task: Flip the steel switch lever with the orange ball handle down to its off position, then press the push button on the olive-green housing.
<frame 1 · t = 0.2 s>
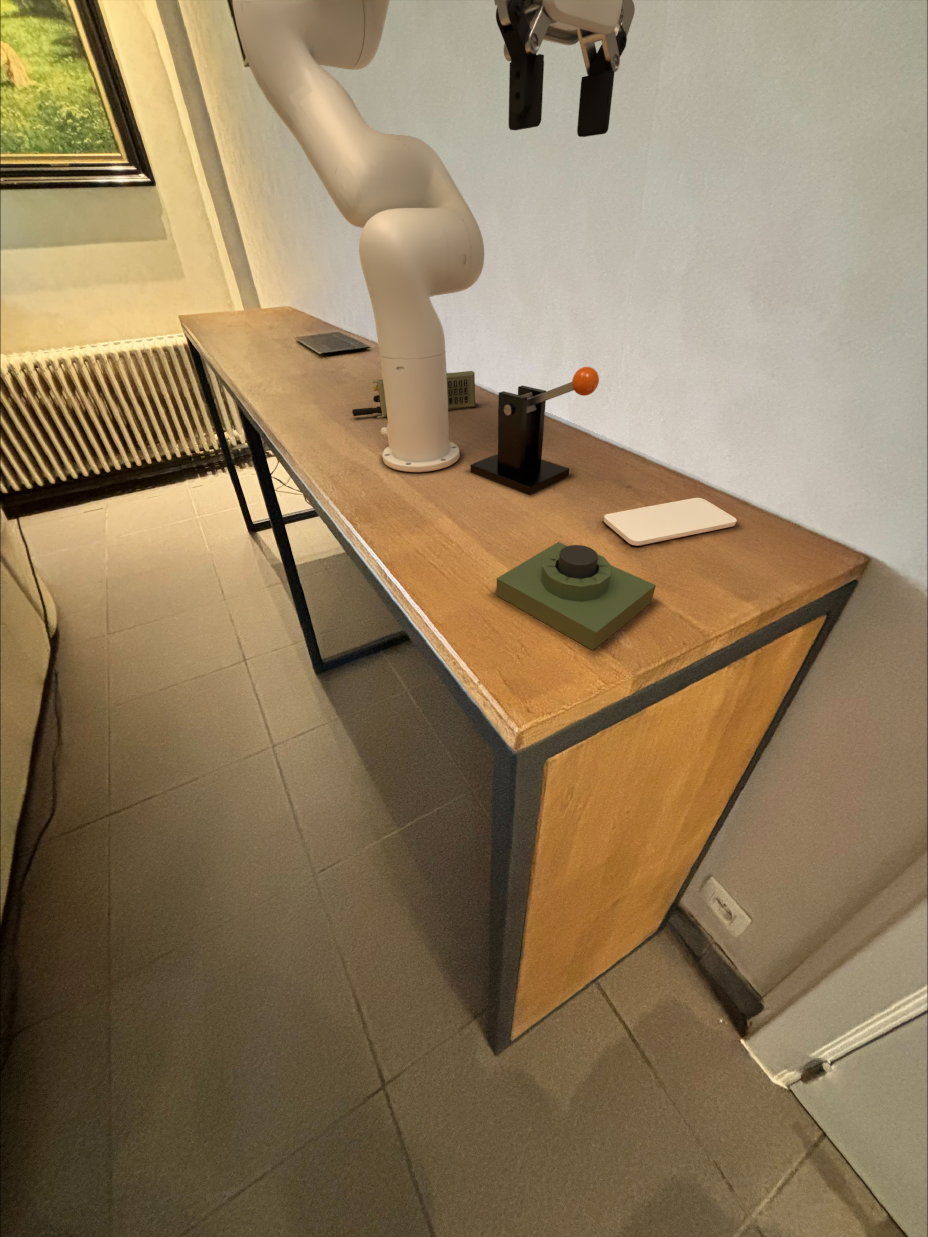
hand: (560, 131, 45), 36 cm above the table, tool pointing down, fingers open, 9 cm apart
switch bracket: (518, 474, 76), on the table
smartphone: (668, 524, 62), on the table
button box: (572, 599, 51), on the table
push button: (577, 562, 48), point 4 cm above the table, slide at 0.1 cm
switch lever: (552, 393, 65), point 12 cm above the table, hinge at 25.0°
handheld radio: (415, 413, 101), on the table
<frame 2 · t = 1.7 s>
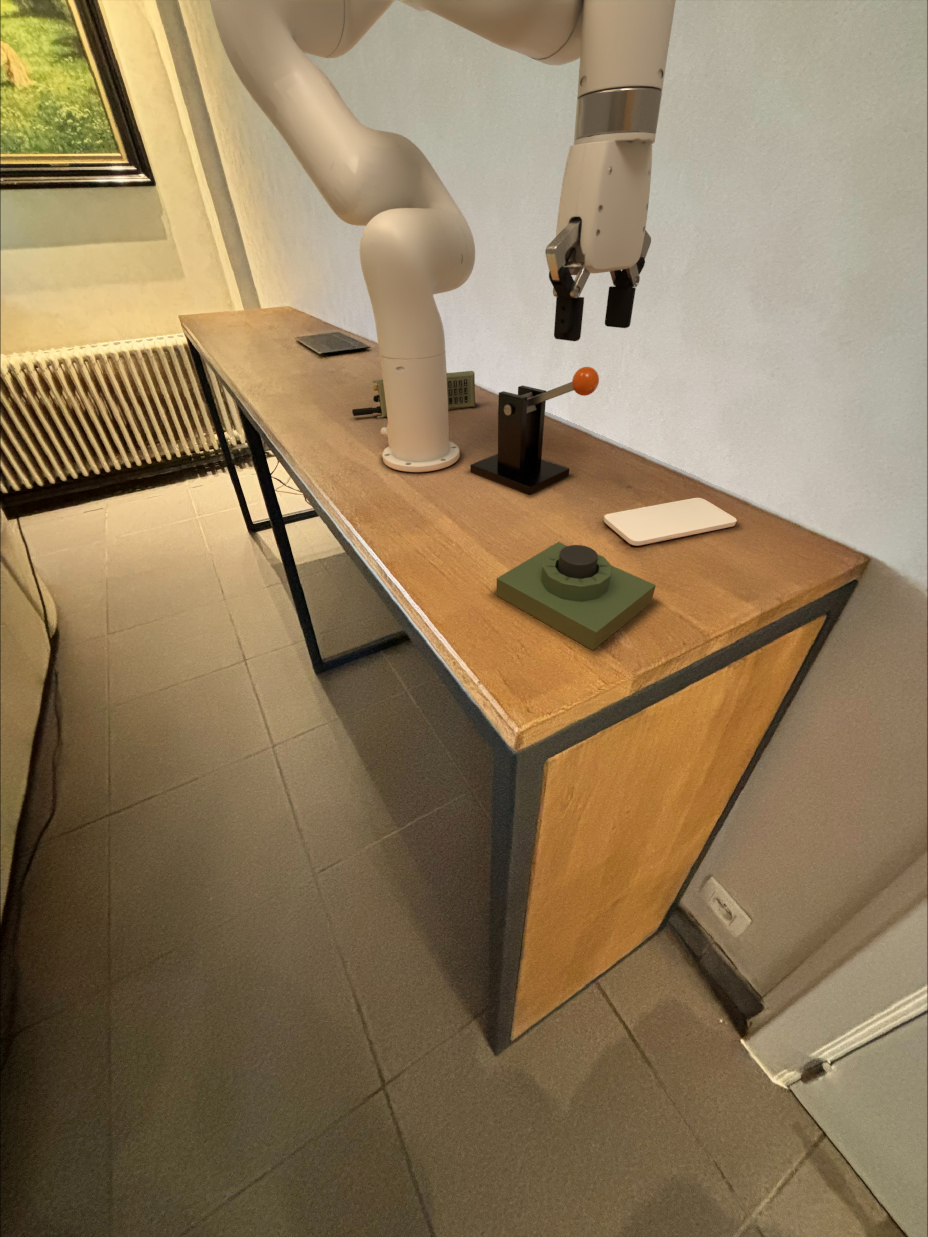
hand: (592, 332, 57), 20 cm above the table, tool pointing down, fingers open, 9 cm apart
nothing on the table moved.
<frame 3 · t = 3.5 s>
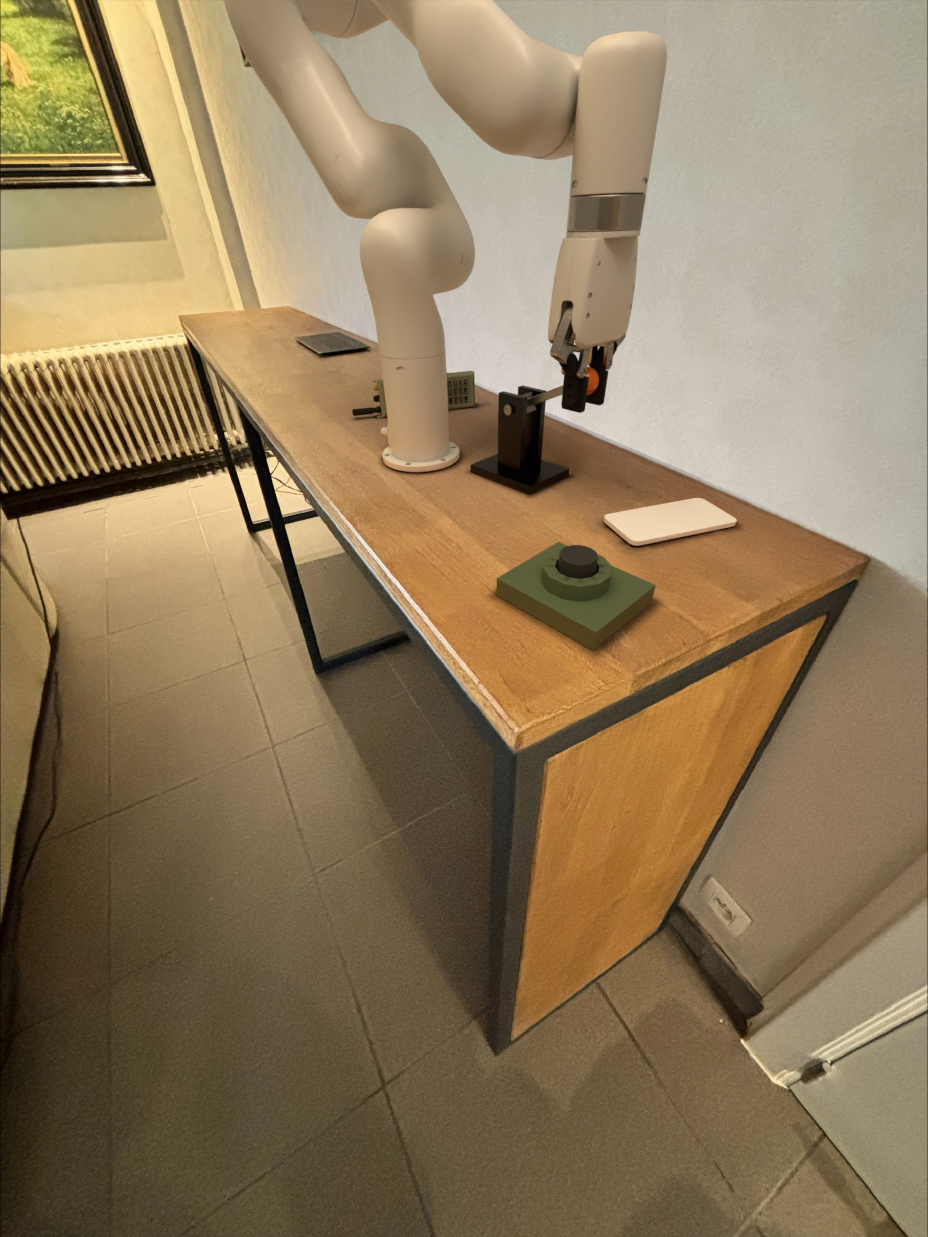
hand: (582, 405, 62), 12 cm above the table, tool pointing down, fingers closed on switch lever, 3 cm apart
switch lever: (552, 393, 65), point 12 cm above the table, hinge at 25.0°, touching gripper
everything else where it was.
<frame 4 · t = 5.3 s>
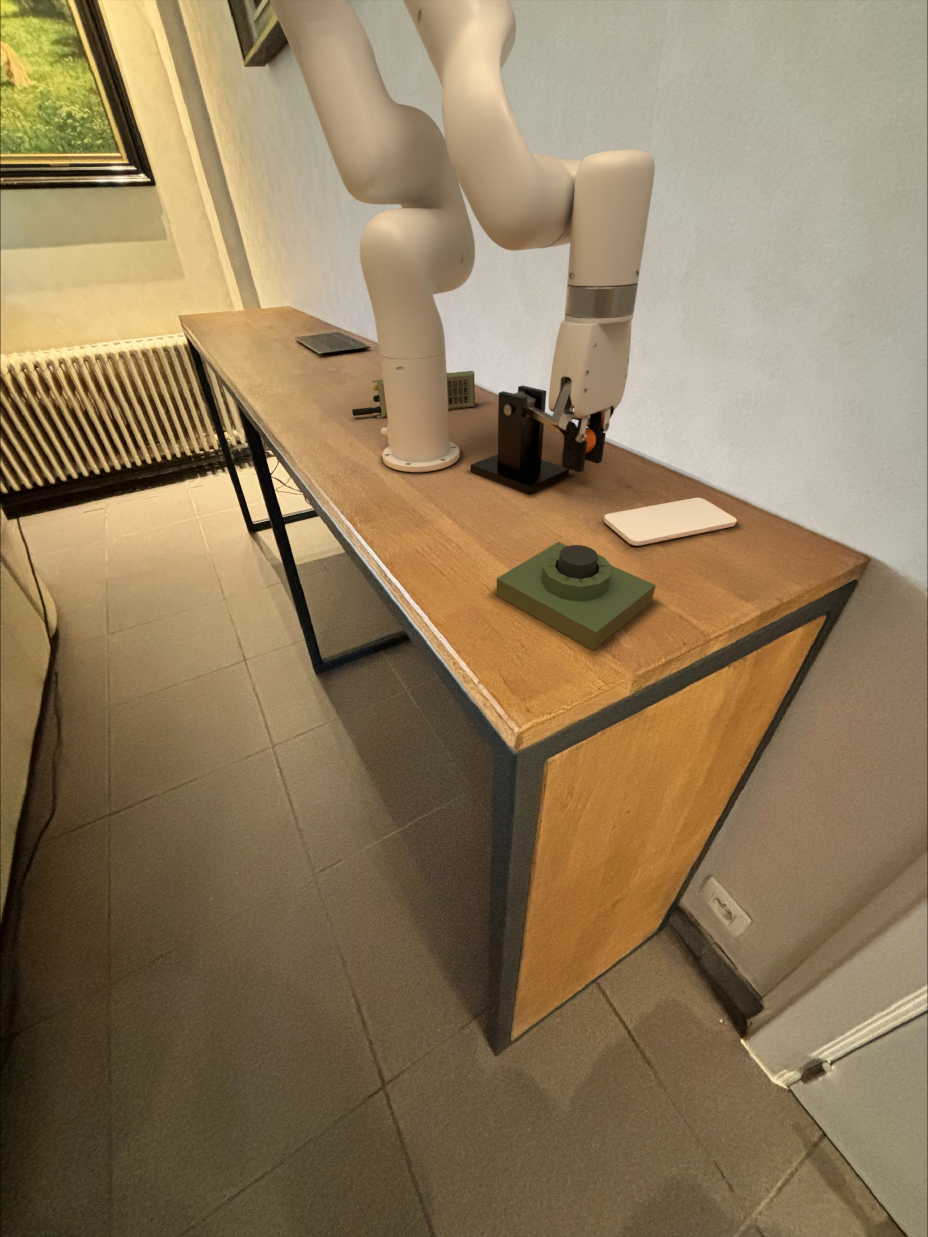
hand: (581, 463, 66), 5 cm above the table, tool pointing down, fingers closed on switch lever, 3 cm apart
switch lever: (552, 422, 67), point 9 cm above the table, hinge at -12.6°, touching gripper
everything else where it was.
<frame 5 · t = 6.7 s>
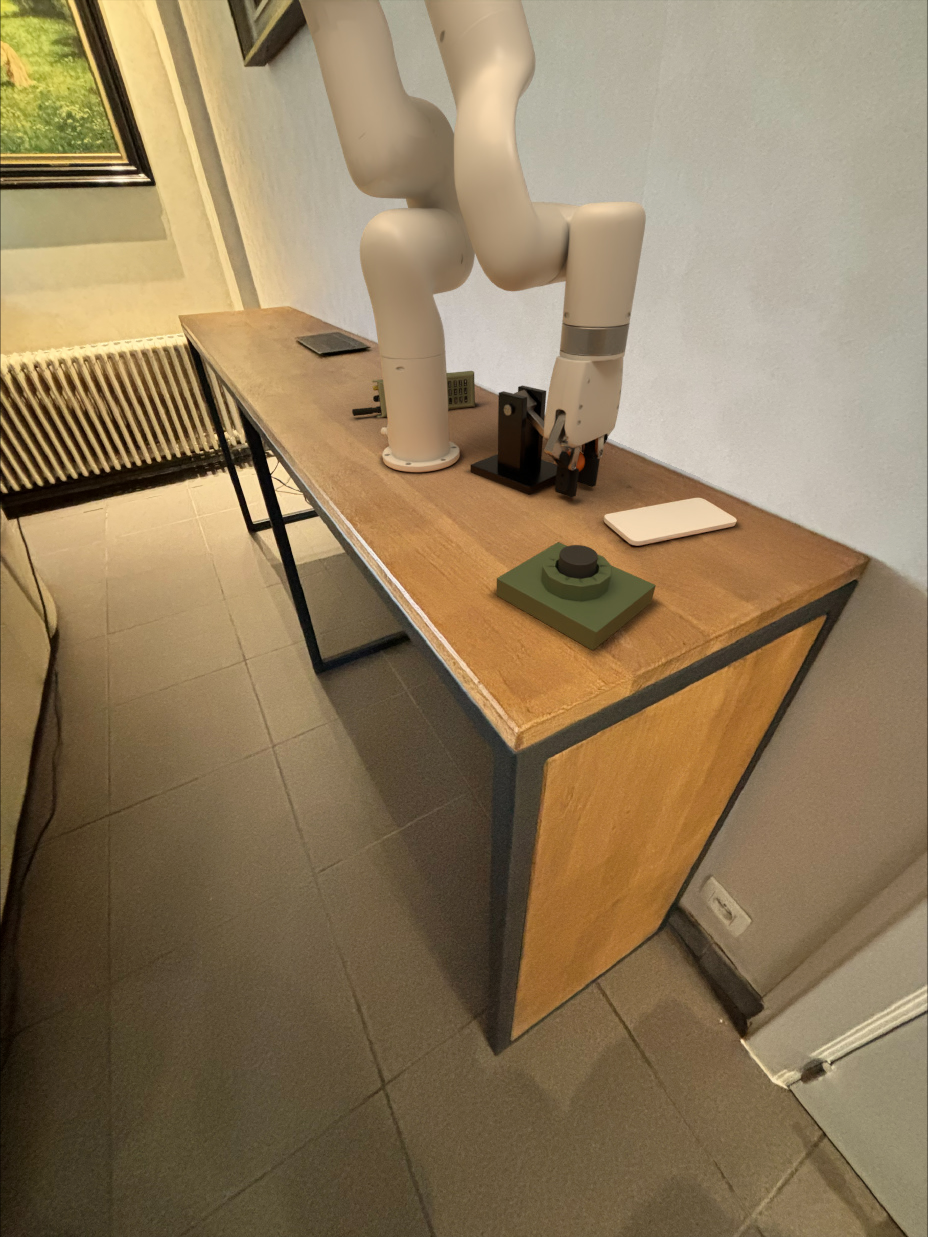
hand: (575, 487, 69), 1 cm above the table, tool pointing down, fingers open, 3 cm apart
switch lever: (547, 433, 68), point 7 cm above the table, hinge at -30.5°
everything else where it was.
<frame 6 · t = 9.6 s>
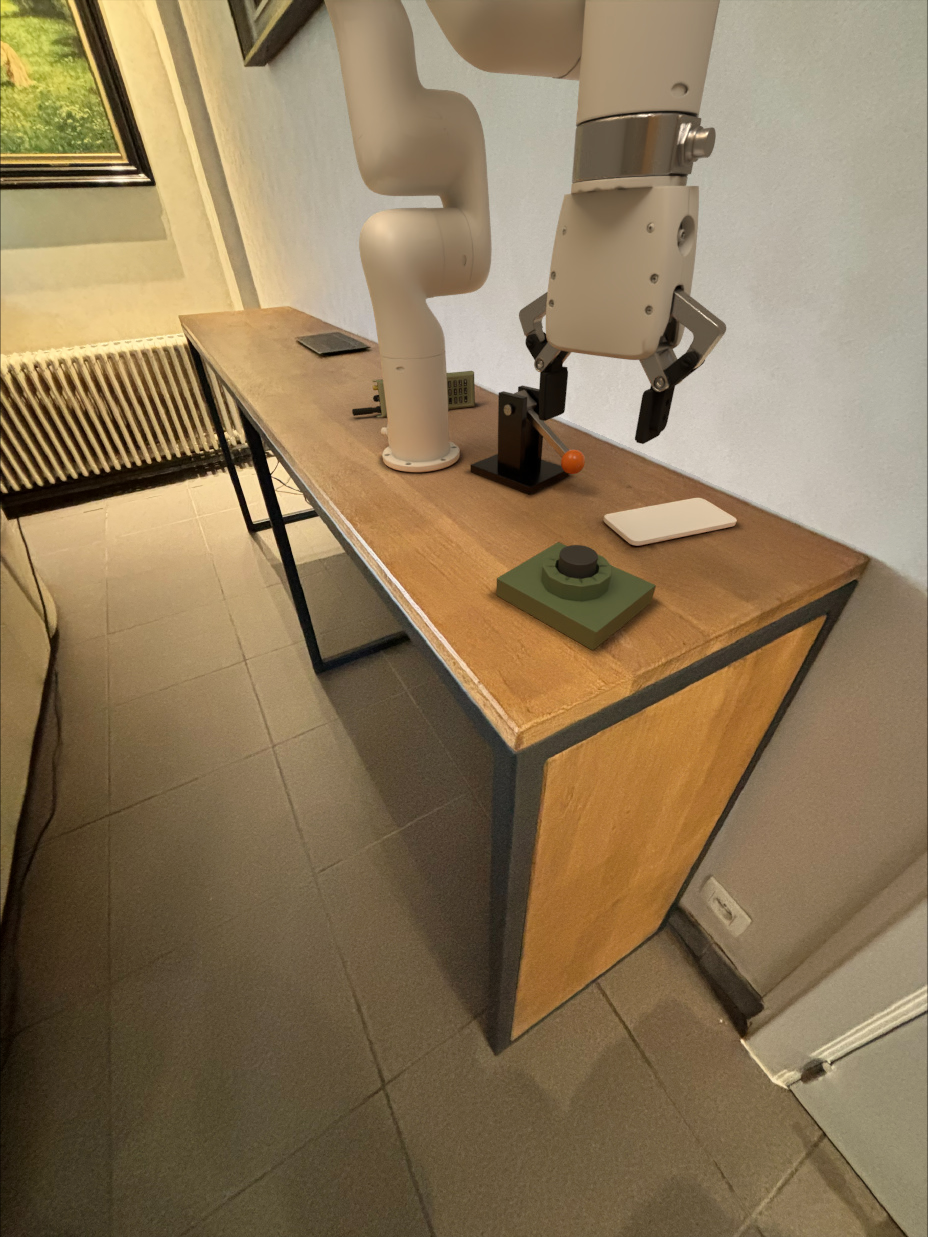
hand: (596, 427, 43), 16 cm above the table, tool pointing down, fingers open, 9 cm apart
nothing on the table moved.
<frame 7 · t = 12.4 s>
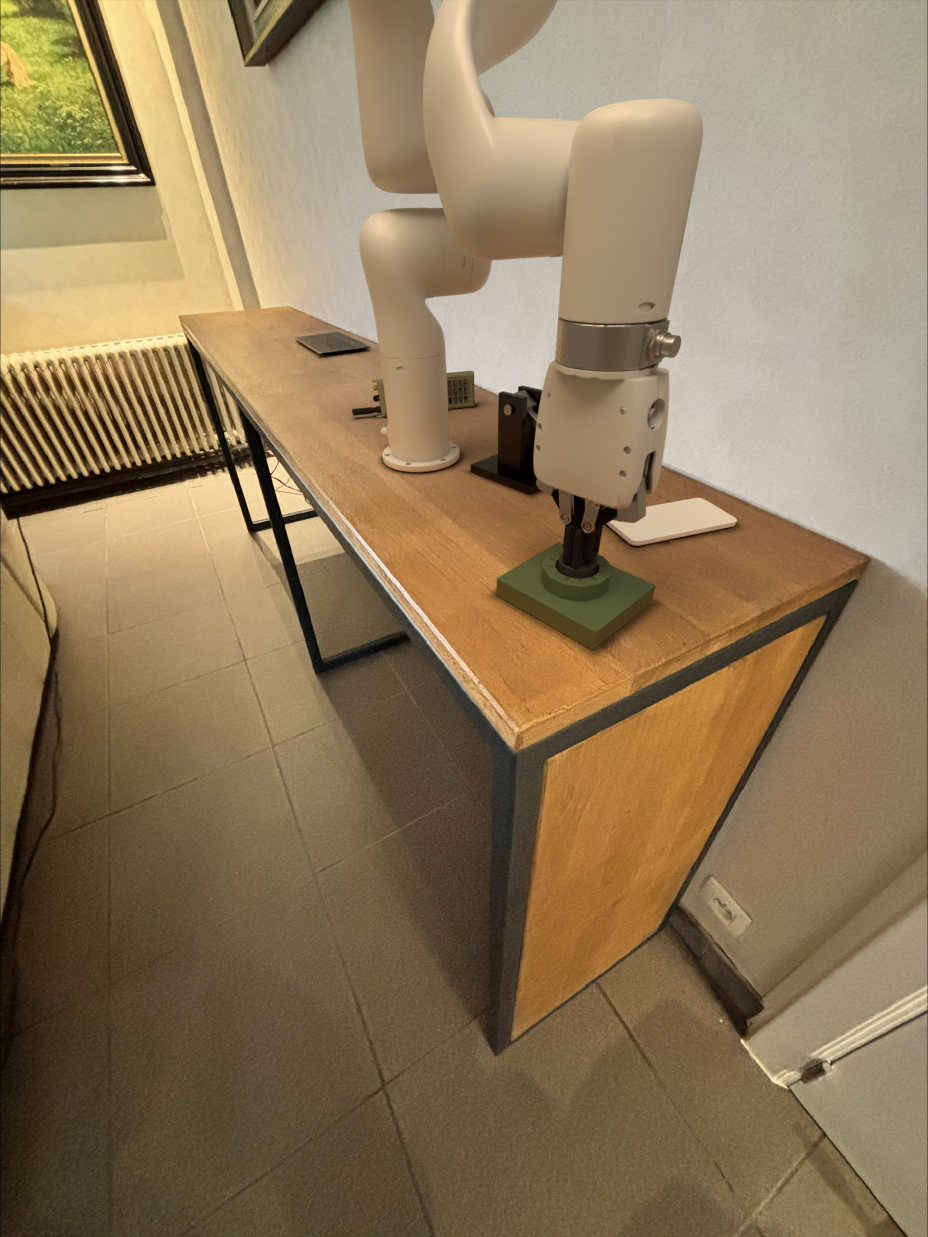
hand: (579, 560, 48), 5 cm above the table, tool pointing down, fingers closed
push button: (576, 567, 48), point 4 cm above the table, slide at -0.5 cm, touching gripper
everything else where it was.
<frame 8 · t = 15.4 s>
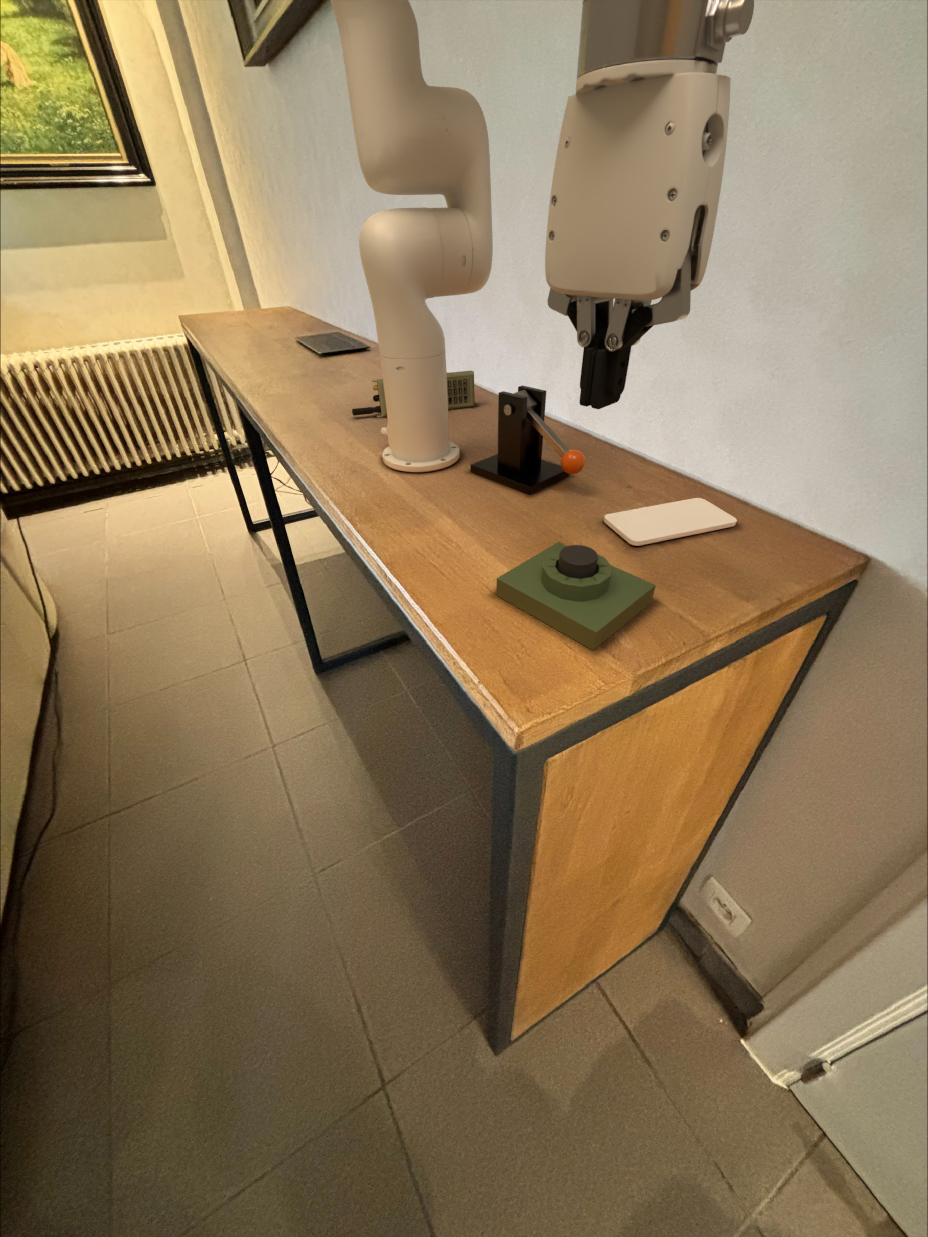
hand: (599, 402, 39), 19 cm above the table, tool pointing down, fingers closed
push button: (577, 562, 48), point 4 cm above the table, slide at 0.1 cm
everything else where it was.
at the end: switch lever at -30° (first picture: +25°); push button pushed in 1.1 cm at the most during the clip, back to where it started at the end; push button slide at 0.1 cm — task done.
